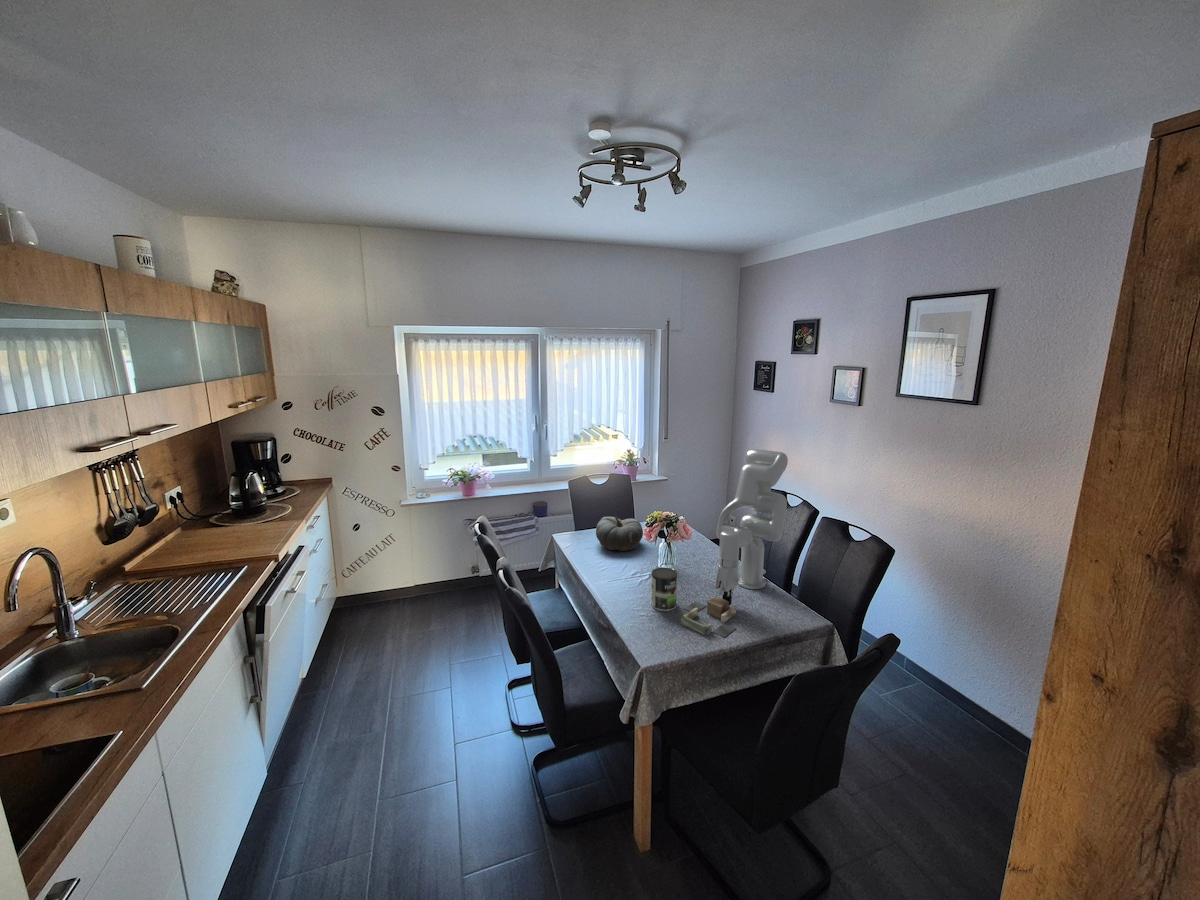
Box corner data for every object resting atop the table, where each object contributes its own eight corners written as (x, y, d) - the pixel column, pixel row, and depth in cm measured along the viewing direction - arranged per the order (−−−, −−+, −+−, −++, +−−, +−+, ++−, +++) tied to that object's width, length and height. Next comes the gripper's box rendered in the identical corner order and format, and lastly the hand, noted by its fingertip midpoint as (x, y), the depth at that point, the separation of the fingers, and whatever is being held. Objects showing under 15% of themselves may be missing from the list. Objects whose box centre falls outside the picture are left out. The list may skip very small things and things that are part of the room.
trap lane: (700, 598, 199) (700, 592, 199) (748, 618, 184) (749, 611, 183) (669, 618, 185) (669, 611, 184) (719, 641, 170) (719, 634, 169)
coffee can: (681, 606, 194) (682, 573, 191) (663, 614, 188) (663, 581, 185) (664, 596, 202) (664, 565, 199) (645, 603, 196) (646, 571, 193)
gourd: (590, 534, 266) (595, 505, 261) (633, 537, 271) (639, 509, 266) (597, 556, 242) (603, 525, 237) (644, 560, 247) (651, 530, 243)
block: (715, 607, 193) (715, 596, 192) (728, 612, 189) (728, 601, 188) (706, 613, 189) (707, 601, 188) (720, 619, 184) (720, 607, 184)
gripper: (730, 553, 197) (728, 594, 201) (710, 564, 187) (708, 607, 190) (746, 558, 192) (744, 600, 195) (727, 570, 182) (725, 614, 185)
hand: (726, 603), depth 193 cm, fingers closed
